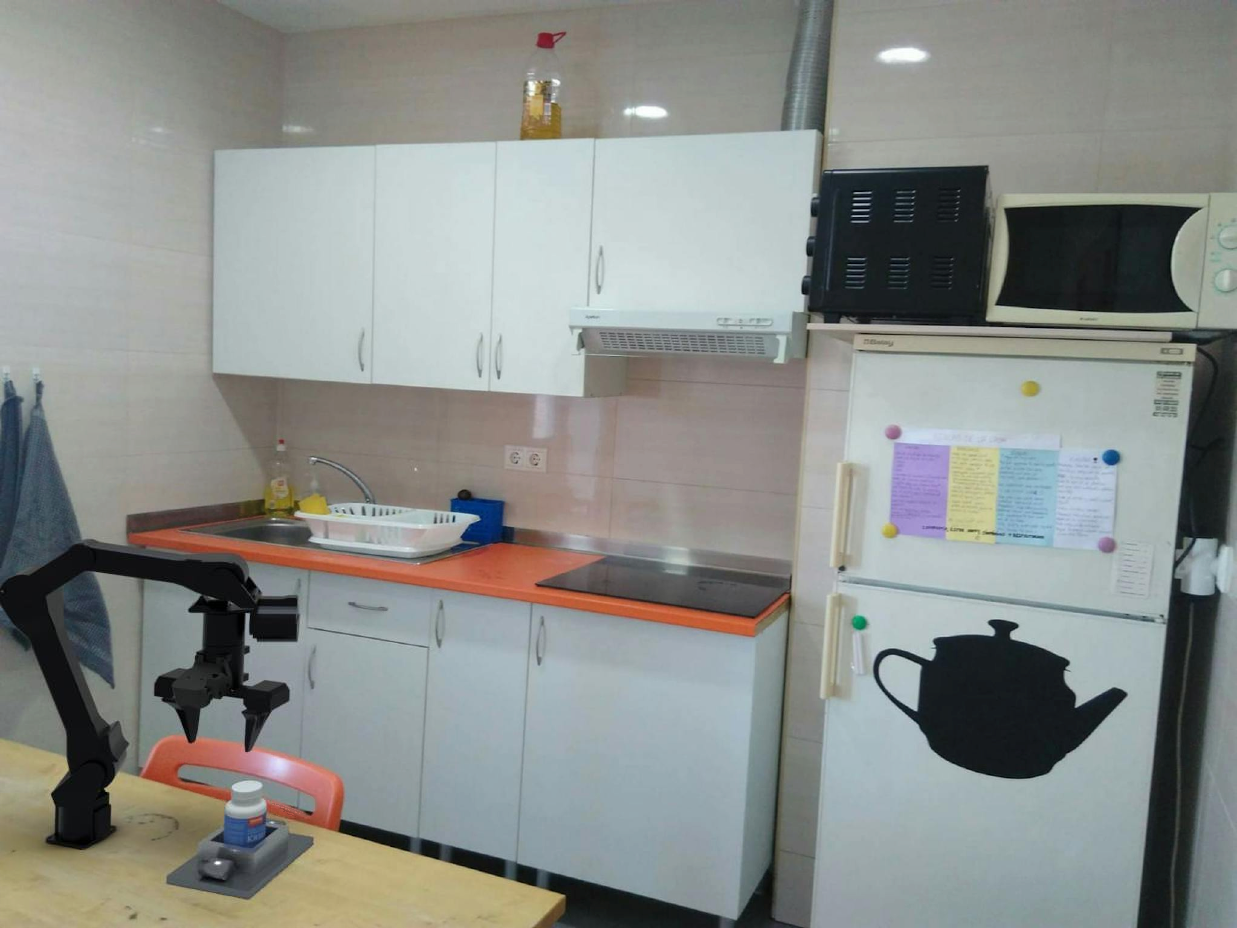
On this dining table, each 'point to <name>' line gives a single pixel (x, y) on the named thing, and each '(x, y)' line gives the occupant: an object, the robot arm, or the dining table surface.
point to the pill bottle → (245, 815)
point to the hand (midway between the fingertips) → (219, 747)
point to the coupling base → (240, 862)
